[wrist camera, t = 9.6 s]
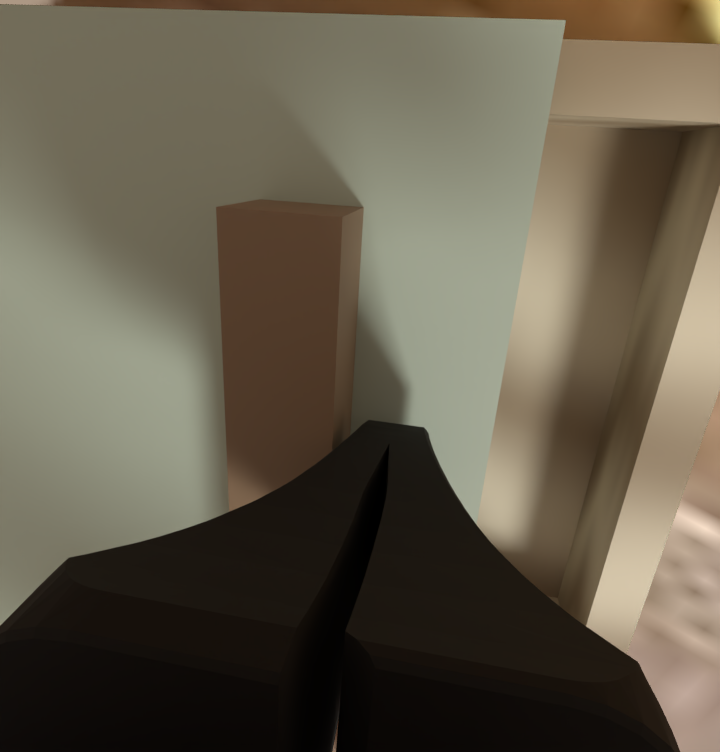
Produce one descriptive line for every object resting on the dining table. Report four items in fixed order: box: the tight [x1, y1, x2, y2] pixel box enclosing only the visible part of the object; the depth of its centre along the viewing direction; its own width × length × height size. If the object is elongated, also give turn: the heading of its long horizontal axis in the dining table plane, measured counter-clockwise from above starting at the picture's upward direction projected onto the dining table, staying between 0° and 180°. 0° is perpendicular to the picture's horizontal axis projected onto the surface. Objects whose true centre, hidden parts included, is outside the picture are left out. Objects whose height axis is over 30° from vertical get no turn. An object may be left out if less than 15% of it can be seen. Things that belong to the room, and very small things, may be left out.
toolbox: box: [476, 39, 720, 654], centre depth 14 cm, size 16×14×4 cm
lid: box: [0, 4, 566, 625], centre depth 12 cm, size 16×14×3 cm
